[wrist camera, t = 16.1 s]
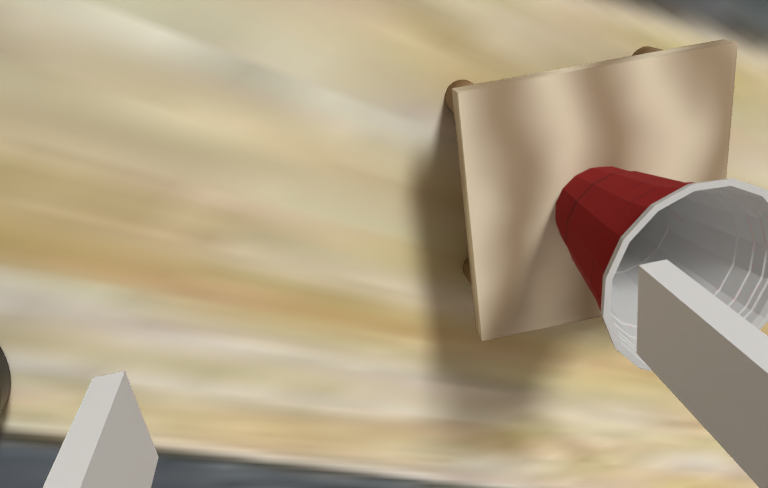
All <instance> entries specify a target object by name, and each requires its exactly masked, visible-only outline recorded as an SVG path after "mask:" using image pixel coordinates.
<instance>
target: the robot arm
mask: <svg viewBox="0 0 768 488" xmlns="http://www.w3.org/2000/svg"><path fill="white" fill-rule="evenodd" d="M637 354H638V356H639V357H640V358H641V359H642V360H643V361H644V362H645V363H646V364H647V365H648V366H649V368H650V369H651V370H652V371H653V372H654V373H655V374H656V375H657V376H658V377H659V378H660V380H661V381H662V382H663V383H664V384H665V385H666V386H667V387H668V388H669V389H670V390H671V392H672V393H673V394H674V395H675V396H676V397H677V398H678V399H679V400H680V401H681V403H682V404H683V405H684V406H685V407H686V408H687V409H688V410H689V411H690V412H691V413H692V415H693V416H694V417H695V418H696V419H697V420H698V421H699V422H700V423H701V424H702V425H703V427H704V428H705V429H706V430H707V431H708V432H709V433H710V434H711V435H712V436H713V437H714V439H715V440H716V441H717V442H718V443H719V444H720V445H721V446H722V447H723V448H724V449H725V451H726V452H727V453H728V454H729V455H730V456H731V457H732V458H733V459H734V460H735V461H736V463H737V464H738V465H739V466H740V467H741V468H742V469H743V470H744V471H745V472H746V473H747V475H748V476H749V477H750V478H751V479H752V480H753V481H754V482H755V483H756V484H757V486H758V487H759V488H768V336H767V335H765V334H764V333H763V332H762V331H760V330H759V329H758V328H756V327H755V326H754V325H752V324H751V323H750V322H748V321H747V320H746V319H744V318H743V317H742V316H741V315H739V314H738V313H737V312H735V311H734V310H733V309H731V308H730V307H729V306H727V305H726V304H725V303H723V302H722V301H721V300H720V299H718V298H717V297H716V296H714V295H713V294H712V293H710V292H709V291H708V290H706V289H705V288H704V287H702V286H701V285H700V284H699V283H697V282H696V281H695V280H693V279H692V278H691V277H689V276H688V275H687V274H685V273H684V272H683V271H682V270H680V269H679V268H678V267H676V266H675V265H674V264H672V263H671V262H670V261H668V260H667V259H666V260H661V261H656V262H651V263H646V264H642V265H639V273H638V313H637ZM9 391H10V373H9V368H8V364H7V361H6V358H5V356H4V353H3V351H2V349H1V348H0V414H1V413H2V411H3V409H4V407H5V405H6V403H7V400H8V396H9ZM157 461H158V455H157V452H156V450H155V447H154V444H153V442H152V439H151V437H150V434H149V432H148V429H147V426H146V424H145V421H144V419H143V416H142V414H141V411H140V408H139V406H138V403H137V401H136V398H135V396H134V393H133V390H132V388H131V385H130V383H129V380H128V378H127V375H126V372H125V371H123V372H118V373H113V374H108V375H103V376H99V377H94V378H93V379H92V381H91V383H90V385H89V387H88V390H87V392H86V394H85V396H84V398H83V401H82V403H81V405H80V407H79V409H78V412H77V414H76V416H75V418H74V420H73V423H72V425H71V427H70V429H69V431H68V433H67V436H66V438H65V440H64V442H63V444H62V447H61V449H60V451H59V453H58V455H57V458H56V460H55V462H54V464H53V466H52V469H51V471H50V473H49V475H48V477H47V480H46V482H45V484H44V486H43V488H151V485H152V481H153V477H154V473H155V469H156V465H157Z"/></svg>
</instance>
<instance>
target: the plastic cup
mask: <svg viewBox="0 0 768 488" xmlns="http://www.w3.org/2000/svg"><path fill="white" fill-rule="evenodd" d="M555 220H556V225H557V227H558V230H559V232H560V235H561V237H562V239H563V241H564V243H565V244H566V246H567V248H568V250H569V252H570V255H571V258H572V260H573V261H574V263H575V265H576V267H577V268H578V270H579V272H580V273H581V275H582V277H583V279H584V280H585V282H586V284H587V285H588V287H589V289H590V291H591V292H592V294H593V296H594V297H595V299H596V301H597V304H598V306H599V309H600V311H601V315H602V317H603V320H604V322H605V325H606V328H607V330H608V333H609V335H610V338H611V340H612V343H613V345H614V347H615V349H617V350H618V351H619V352H620V353H621V354H623V355H624V356H625V357H626V358H627V359H629V360H630V361H631V362H632V363H634V364H635V365H636V366H637V367H638V368H640V369H645V370H650V371H652V370H651V369H650V368H649V366H648V365H647V364H646V363H645V362H644V361H643V360H642V359H641V358H640V357H639V356H638V354H637V313H638V273H639V265H642V264H646V263H651V262H656V261H661V260H666V259H667V260H668V261H670V262H671V263H672V264H674V265H675V266H676V267H678V268H679V269H680V270H682V271H683V272H684V273H685V274H687V275H688V276H689V277H691V278H692V279H693V280H695V281H696V282H697V283H699V284H700V285H701V286H702V287H704V288H705V289H706V290H708V291H709V292H710V293H712V294H713V295H714V296H716V297H717V298H718V299H720V300H721V301H722V302H723V303H725V304H726V305H727V306H729V307H730V308H731V309H733V310H734V311H735V312H737V313H738V314H739V315H741V316H742V317H743V318H744V319H746V320H747V321H748V322H750V323H751V324H752V325H754V326H755V327H756V328H758V329H759V330H760V329H761V328H762V327H763V326H764V325H765V324H766V323H767V322H768V191H767V190H766V189H763V188H760V187H757V186H754V185H751V184H748V183H745V182H742V181H739V180H736V179H721V180H714V181H706V182H699V183H693V182H686V183H685V182H681V181H677V180H672V179H668V178H664V177H659V176H655V175H651V174H646V173H642V172H638V171H627V170H624V169H620V168H617V167H613V166H609V167H607V166H605V167H595V168H589V169H587V170H585V171H583V172H582V173H580V174H578V175H576V176H574V177H573V178H572V179H571V180H570V182H569V183H568V184H567V185H566V186H565V187H564V188H563V189H562V191H561V194H560V196H559V198H558V200H557V202H556V212H555Z"/></svg>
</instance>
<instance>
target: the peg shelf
mask: <svg viewBox="0 0 768 488" xmlns="http://www.w3.org/2000/svg"><path fill="white" fill-rule="evenodd" d="M737 45H738V42H734V41H728V40H717V41H712V42H706V43H701V44H695V45H690V46H684V47H679V48H673V49H668V50H662V49H657V48H653V47H642V48H640V49H638V50H637V51H636V52H635V53H634V54H633V55H632V56H629V57H623V58H618V59H612V60H607V61H601V62H596V63H590V64H584V65H579V66H573V67H568V68H562V69H557V70H551V71H546V72H540V73H535V74H529V75H523V76H518V77H512V78H507V79H501V80H496V81H490V82H485V83H479V84H473V83H471V82H469V81H467V80H457V81H455V82H453V83H452V84H451V85H450V86H449V87H448V89H447V91H446V94H445V102H446V104H447V106H448V108H449V109H450V110H451V111H453V112H454V115H455V125H456V135H457V145H458V155H459V165H460V174H461V184H462V194H463V204H464V214H465V224H466V234H467V244H468V254H469V258H467V260H466V261H465V263H464V265H463V271H464V274H465V276H466V277H467V279H468V281H469V282H470V284H471V286H472V293H473V303H474V313H475V323H476V331H477V333H478V335H479V337H480V339H481V340H482V341H487V340H491V339H496V338H501V337H506V336H510V335H515V334H520V333H524V332H529V331H534V330H539V329H543V328H548V327H553V326H558V325H562V324H567V323H572V322H576V321H581V320H586V319H591V318H595V317H600V316H602V315H601V311H600V309H599V306H598V304H597V301H596V299H595V297H594V296H593V294H592V292H591V291H590V289H589V287H588V285H587V284H586V282H585V280H584V279H583V277H582V275H581V273H580V272H579V270H578V268H577V267H576V265H575V263H574V261H573V260H572V258H571V255H570V252H569V250H568V248H567V246H566V244H565V243H564V241H563V239H562V237H561V235H560V232H559V230H558V227H557V225H556V220H555V212H556V202H557V200H558V198H559V196H560V194H561V191H562V189H563V188H564V187H565V186H566V185H567V184H568V183H569V182H570V180H571V179H572V178H573V177H574V176H576V175H578V174H580V173H582V172H583V171H585V170H587V169H589V168H595V167H605V166H607V167H609V166H613V167H617V168H620V169H624V170H627V171H638V172H642V173H646V174H651V175H655V176H659V177H664V178H668V179H672V180H677V181H681V182H685V183H686V182H693V183H699V182H706V181H714V180H721V179H726V175H727V163H728V151H729V140H730V128H731V116H732V104H733V93H734V81H735V69H736V57H737Z"/></svg>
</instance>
